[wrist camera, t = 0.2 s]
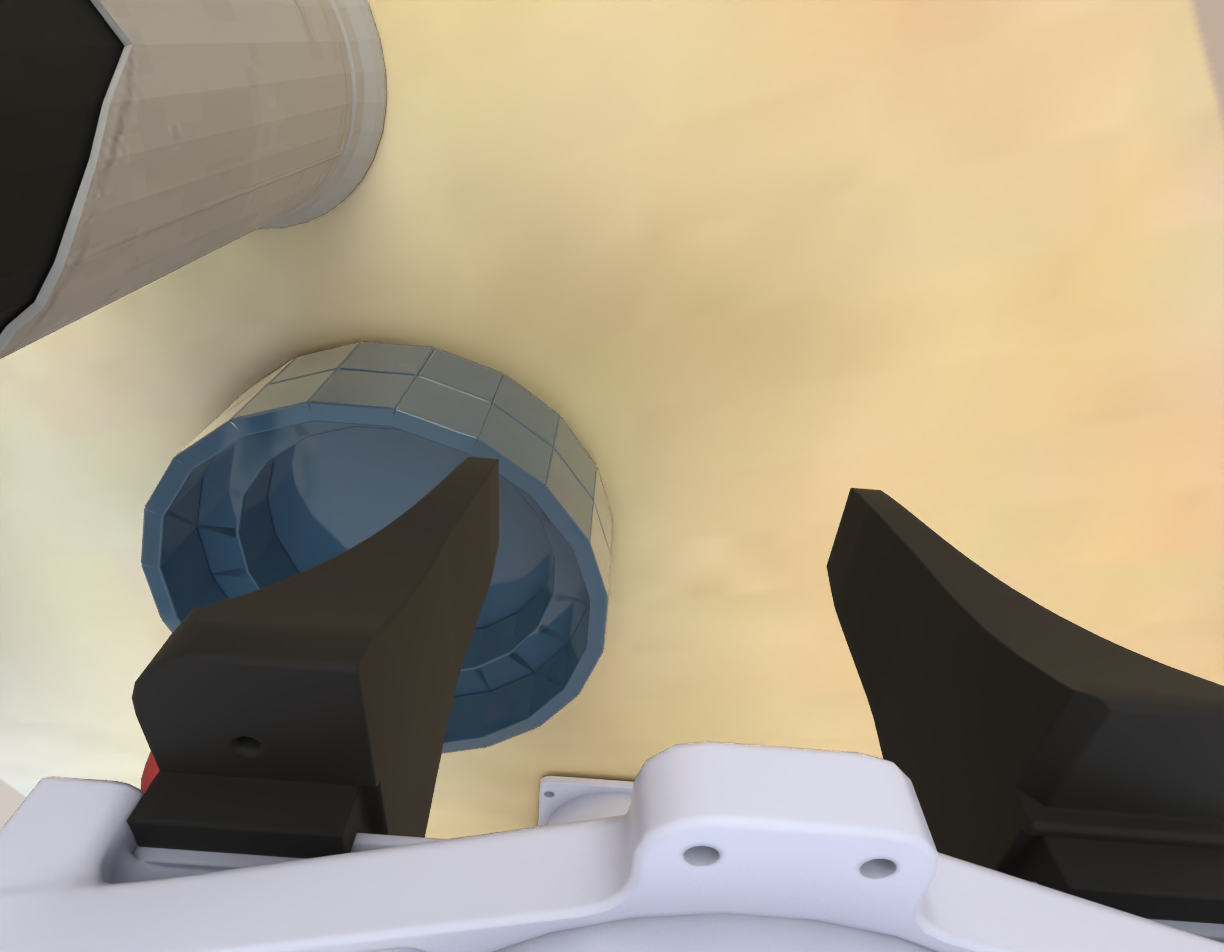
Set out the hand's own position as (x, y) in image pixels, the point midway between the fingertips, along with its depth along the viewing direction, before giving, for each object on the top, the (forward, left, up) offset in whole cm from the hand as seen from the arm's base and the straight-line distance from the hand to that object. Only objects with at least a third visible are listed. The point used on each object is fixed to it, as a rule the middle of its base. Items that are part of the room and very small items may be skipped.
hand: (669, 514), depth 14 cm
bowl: (-8, +8, -10) cm, 15 cm away
